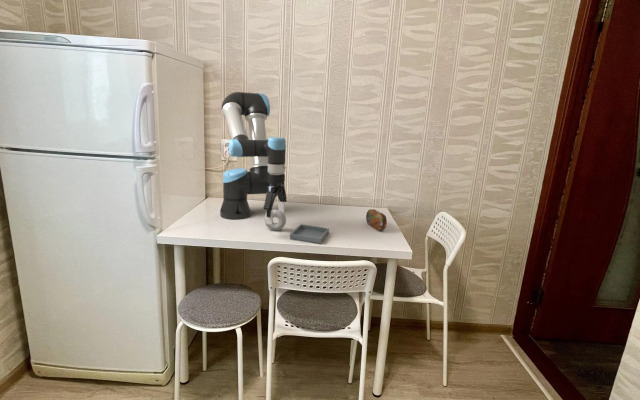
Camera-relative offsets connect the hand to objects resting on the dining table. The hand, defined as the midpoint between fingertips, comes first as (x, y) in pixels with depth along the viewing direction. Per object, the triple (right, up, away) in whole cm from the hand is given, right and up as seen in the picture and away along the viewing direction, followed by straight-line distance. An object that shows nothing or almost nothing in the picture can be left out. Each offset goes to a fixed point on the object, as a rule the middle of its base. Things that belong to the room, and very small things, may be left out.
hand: (275, 219), depth 154 cm
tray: (+16, -7, -3) cm, 18 cm away
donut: (0, -5, +2) cm, 6 cm away
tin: (+48, -5, +13) cm, 50 cm away
